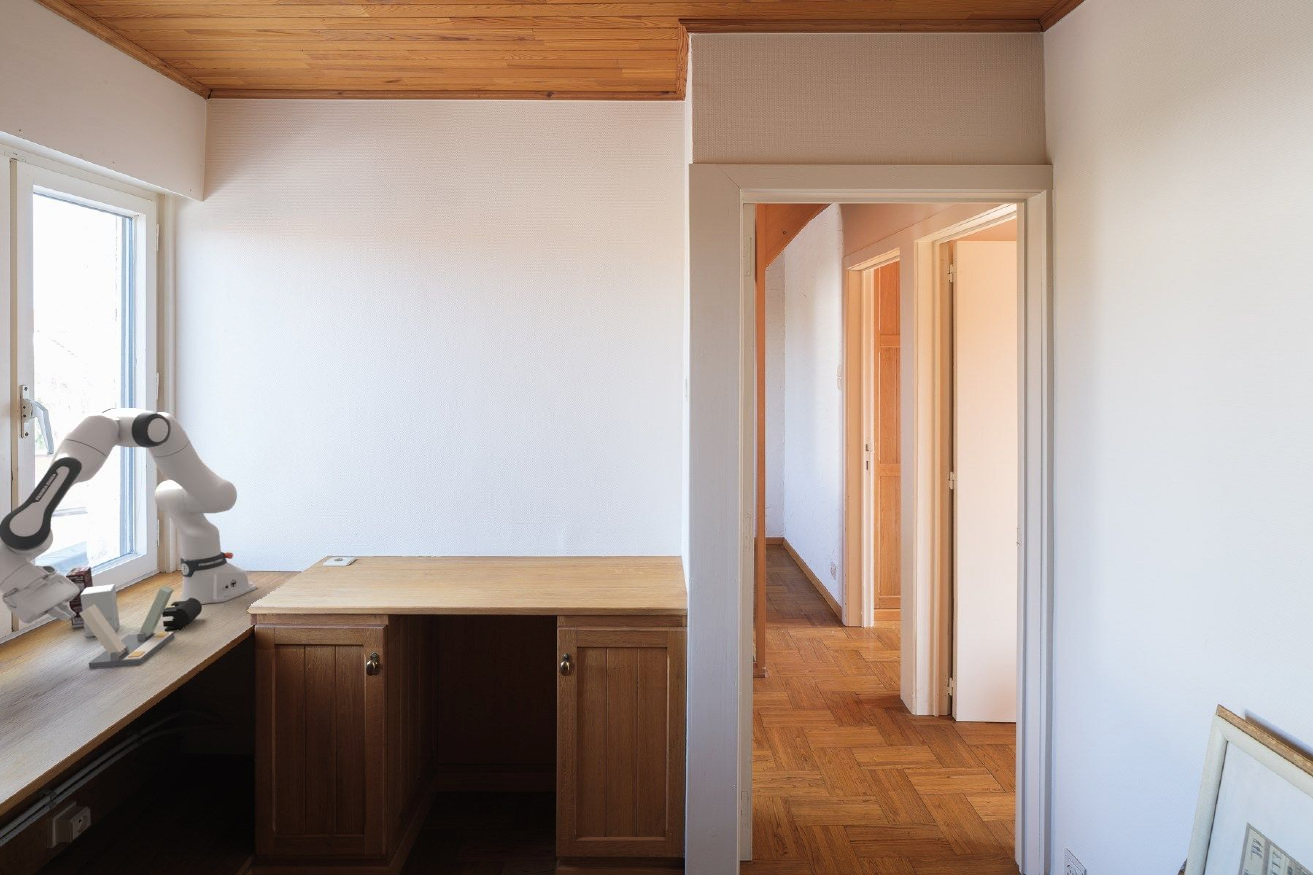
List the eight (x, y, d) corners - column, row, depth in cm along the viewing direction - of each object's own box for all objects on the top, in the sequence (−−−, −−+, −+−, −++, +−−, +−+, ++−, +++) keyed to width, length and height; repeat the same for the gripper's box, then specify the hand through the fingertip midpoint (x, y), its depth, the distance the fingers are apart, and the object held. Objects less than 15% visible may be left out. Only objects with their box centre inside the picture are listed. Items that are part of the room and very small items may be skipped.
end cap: (190, 630, 234) (187, 607, 233) (163, 632, 233) (161, 609, 232) (203, 618, 244) (201, 596, 243) (177, 620, 243) (175, 598, 242)
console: (89, 668, 208) (87, 655, 207) (128, 640, 227) (127, 627, 227) (140, 664, 209) (138, 651, 209) (174, 636, 229) (173, 624, 228)
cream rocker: (113, 660, 209) (78, 613, 207) (120, 654, 213) (86, 608, 210) (121, 655, 209) (87, 608, 207) (128, 650, 213) (95, 603, 211)
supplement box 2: (120, 625, 240) (116, 583, 238) (115, 633, 233) (110, 590, 231) (90, 629, 237) (85, 586, 235) (84, 637, 230) (79, 594, 228)
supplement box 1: (78, 619, 246) (72, 568, 244) (97, 617, 247) (91, 565, 245) (70, 628, 238) (64, 575, 236) (90, 625, 240) (84, 573, 238)
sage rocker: (137, 636, 223) (159, 589, 222) (143, 631, 226) (165, 585, 226) (145, 640, 223) (168, 592, 223) (152, 635, 227) (174, 588, 226)
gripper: (7, 586, 196) (56, 623, 198) (56, 563, 216) (100, 597, 218) (-12, 606, 196) (38, 642, 198) (40, 581, 216) (84, 614, 218)
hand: (71, 618), depth 209 cm, fingers closed
